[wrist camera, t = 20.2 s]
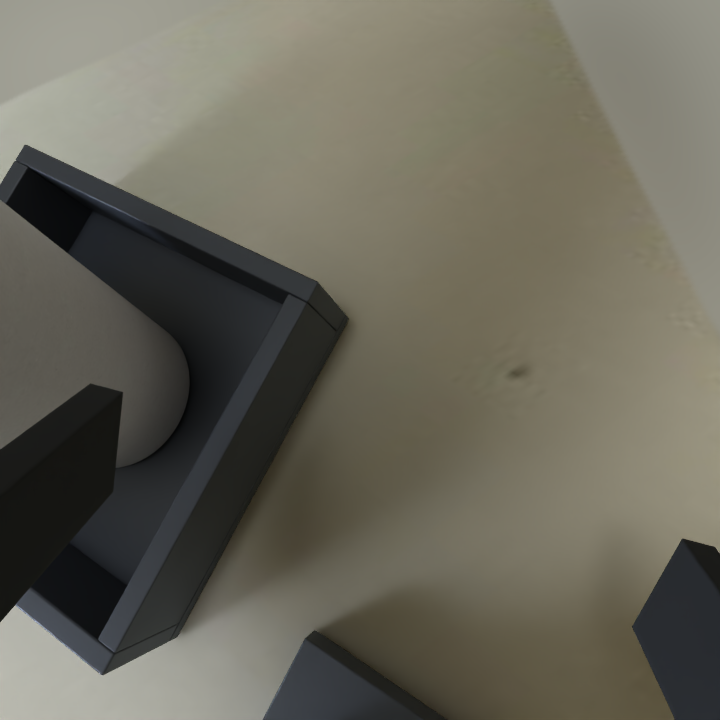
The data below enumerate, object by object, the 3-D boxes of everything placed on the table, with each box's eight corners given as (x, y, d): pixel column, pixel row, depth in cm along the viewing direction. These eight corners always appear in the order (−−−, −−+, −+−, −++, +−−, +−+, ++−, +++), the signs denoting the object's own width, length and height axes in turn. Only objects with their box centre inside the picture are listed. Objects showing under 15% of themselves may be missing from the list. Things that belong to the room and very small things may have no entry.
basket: (97, 196, 28) (24, 143, 23) (349, 318, 24) (318, 281, 19) (-60, 461, 27) (-168, 458, 22) (176, 638, 22) (101, 677, 18)
